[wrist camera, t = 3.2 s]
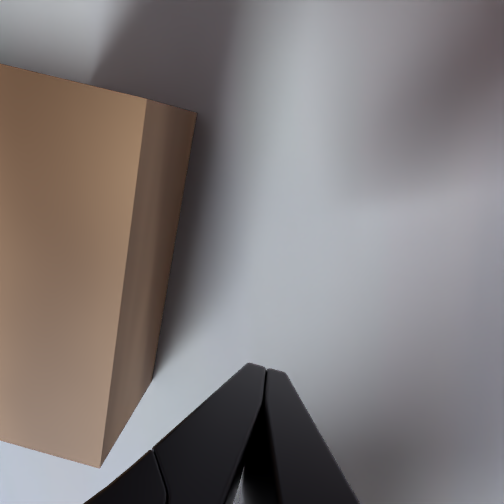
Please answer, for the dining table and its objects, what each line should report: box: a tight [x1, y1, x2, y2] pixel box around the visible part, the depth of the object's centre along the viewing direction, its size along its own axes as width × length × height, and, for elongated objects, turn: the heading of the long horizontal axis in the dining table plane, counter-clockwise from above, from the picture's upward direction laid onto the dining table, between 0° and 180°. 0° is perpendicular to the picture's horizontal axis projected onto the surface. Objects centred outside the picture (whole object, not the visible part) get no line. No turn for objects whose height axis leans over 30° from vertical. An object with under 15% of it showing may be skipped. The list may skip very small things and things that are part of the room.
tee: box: [0, 64, 197, 468], centre depth 11 cm, size 9×10×4 cm
